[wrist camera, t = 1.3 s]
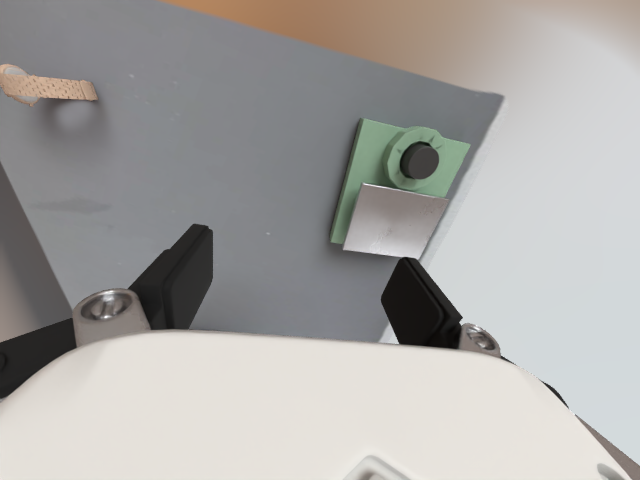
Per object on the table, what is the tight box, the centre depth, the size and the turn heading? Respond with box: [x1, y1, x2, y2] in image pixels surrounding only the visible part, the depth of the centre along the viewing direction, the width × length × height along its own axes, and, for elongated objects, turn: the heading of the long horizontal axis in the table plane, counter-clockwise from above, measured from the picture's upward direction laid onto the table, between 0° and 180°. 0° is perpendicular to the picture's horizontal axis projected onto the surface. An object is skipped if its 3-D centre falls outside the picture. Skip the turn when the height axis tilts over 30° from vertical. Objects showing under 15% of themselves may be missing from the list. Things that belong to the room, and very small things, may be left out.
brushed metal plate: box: [342, 182, 449, 259], centre depth 25 cm, size 8×10×1 cm
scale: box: [330, 118, 470, 244], centre depth 26 cm, size 14×12×3 cm
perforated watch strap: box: [0, 64, 98, 107], centre depth 17 cm, size 3×5×5 cm, turn 86°
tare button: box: [401, 144, 439, 180], centre depth 22 cm, size 3×3×2 cm
